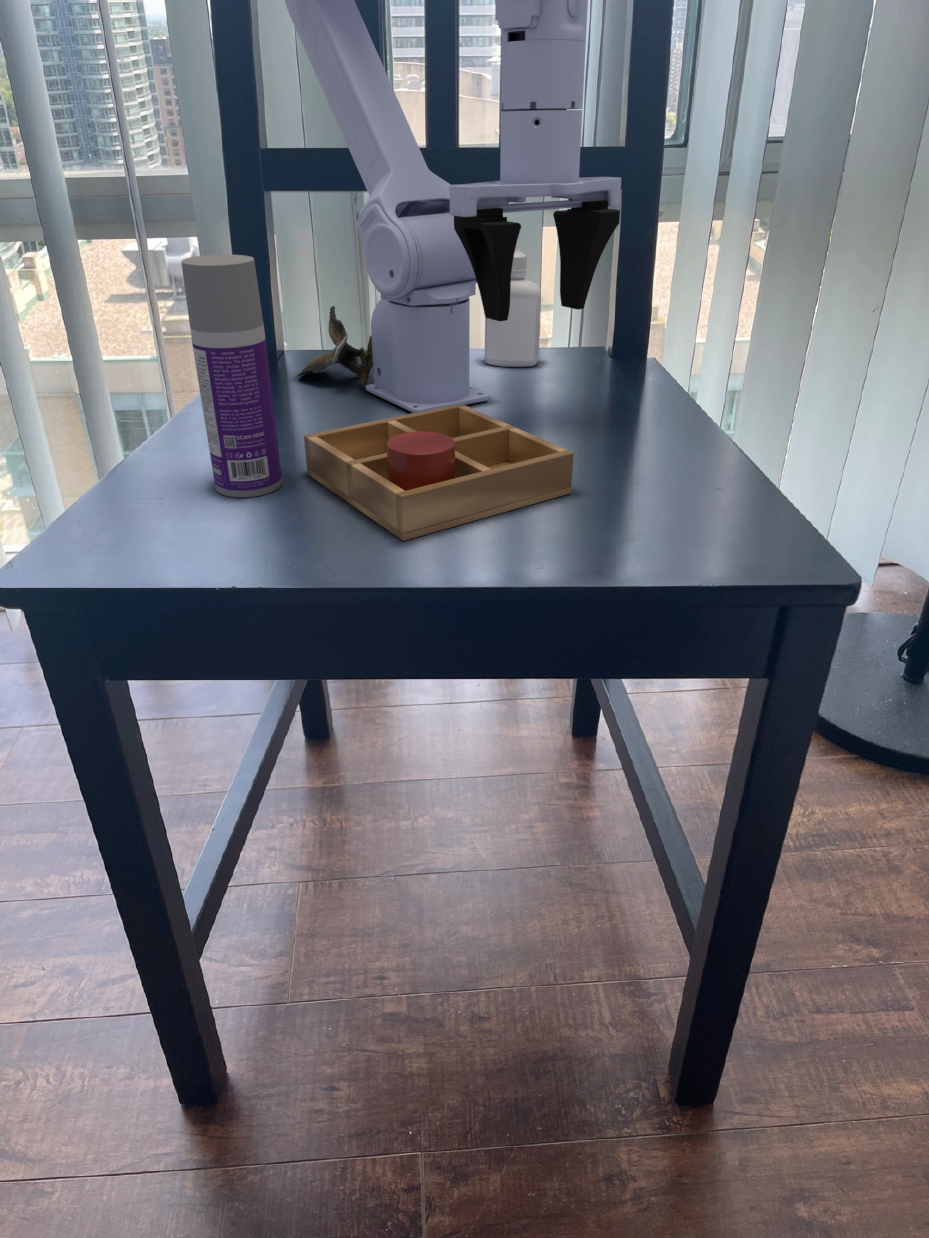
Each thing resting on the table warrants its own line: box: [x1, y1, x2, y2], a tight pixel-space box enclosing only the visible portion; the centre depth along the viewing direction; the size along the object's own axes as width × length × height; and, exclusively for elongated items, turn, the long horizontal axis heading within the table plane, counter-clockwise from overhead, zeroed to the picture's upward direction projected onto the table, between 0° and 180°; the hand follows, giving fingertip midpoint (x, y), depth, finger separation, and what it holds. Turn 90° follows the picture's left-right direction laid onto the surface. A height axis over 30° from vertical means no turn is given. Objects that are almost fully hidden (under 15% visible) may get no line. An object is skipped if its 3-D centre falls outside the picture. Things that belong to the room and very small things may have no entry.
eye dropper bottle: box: [484, 239, 542, 368], centre depth 87 cm, size 4×6×12 cm
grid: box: [303, 404, 575, 542], centre depth 60 cm, size 14×14×3 cm
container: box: [180, 254, 283, 498], centre depth 57 cm, size 5×5×15 cm
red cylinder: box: [387, 432, 455, 491], centre depth 56 cm, size 4×4×4 cm
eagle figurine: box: [297, 305, 373, 389], centre depth 83 cm, size 8×7×9 cm
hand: (535, 313), depth 67 cm, fingers open, 7 cm apart
